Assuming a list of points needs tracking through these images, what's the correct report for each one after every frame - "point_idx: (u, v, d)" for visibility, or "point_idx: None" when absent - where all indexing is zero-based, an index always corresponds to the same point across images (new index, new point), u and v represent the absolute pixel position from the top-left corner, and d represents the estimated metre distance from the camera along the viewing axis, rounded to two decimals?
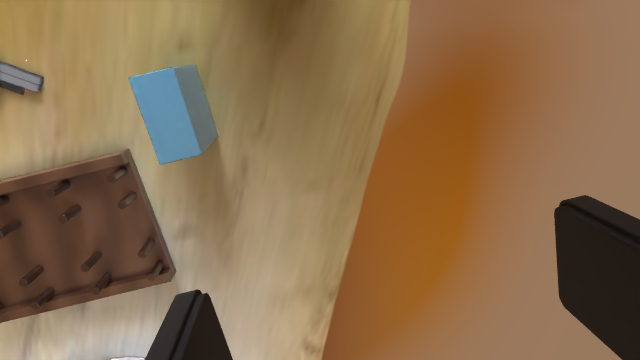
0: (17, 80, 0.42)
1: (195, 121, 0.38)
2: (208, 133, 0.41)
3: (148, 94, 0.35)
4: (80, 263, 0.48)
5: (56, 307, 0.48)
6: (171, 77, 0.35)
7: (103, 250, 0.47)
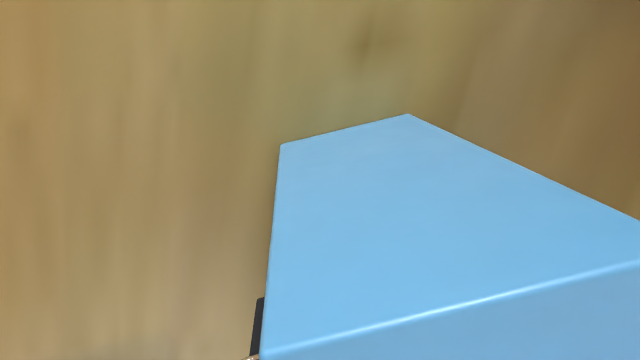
0: None
1: None
2: None
3: None
4: None
5: None
6: None
7: None
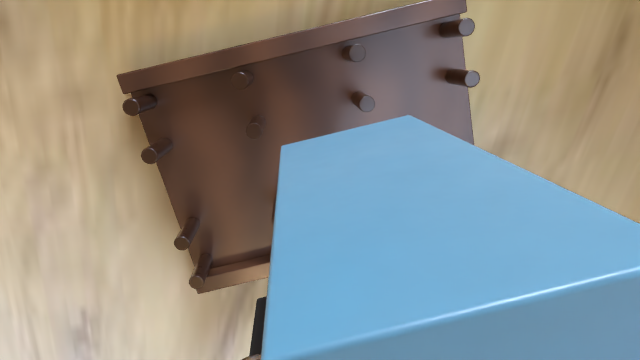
0: None
1: None
2: None
3: None
4: None
5: None
6: None
7: None
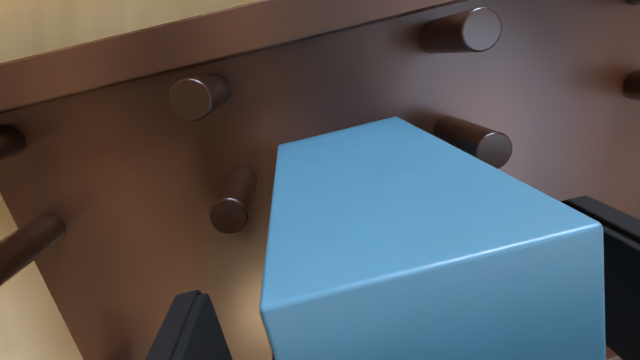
0: None
1: None
2: None
3: None
4: None
5: None
6: (572, 292, 0.05)
7: None
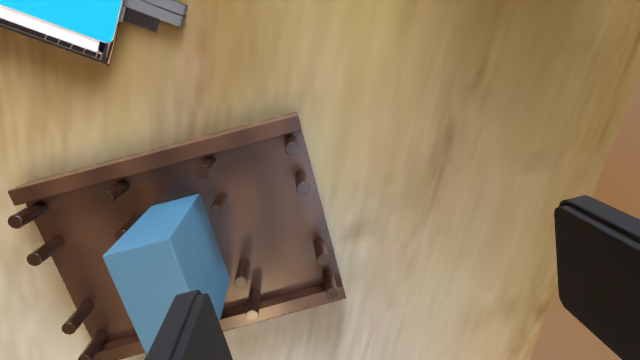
0: (152, 9, 0.29)
1: None
2: (219, 294, 0.30)
3: (132, 276, 0.24)
4: None
5: None
6: (166, 252, 0.23)
7: (253, 256, 0.34)
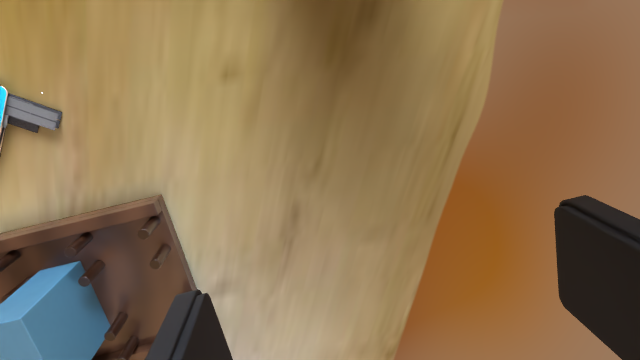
0: (30, 116, 0.35)
1: (59, 358, 0.33)
2: (88, 347, 0.37)
3: None
4: None
5: None
6: (19, 328, 0.30)
7: (130, 310, 0.40)
